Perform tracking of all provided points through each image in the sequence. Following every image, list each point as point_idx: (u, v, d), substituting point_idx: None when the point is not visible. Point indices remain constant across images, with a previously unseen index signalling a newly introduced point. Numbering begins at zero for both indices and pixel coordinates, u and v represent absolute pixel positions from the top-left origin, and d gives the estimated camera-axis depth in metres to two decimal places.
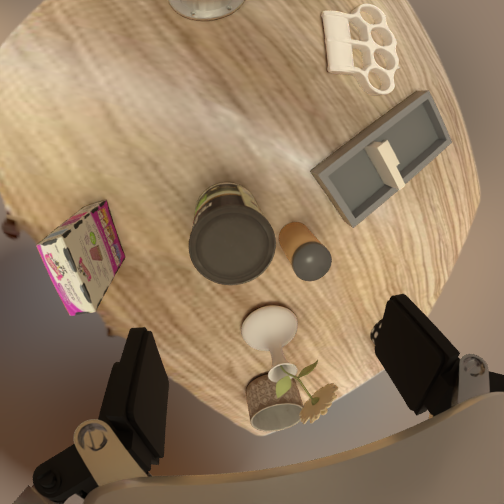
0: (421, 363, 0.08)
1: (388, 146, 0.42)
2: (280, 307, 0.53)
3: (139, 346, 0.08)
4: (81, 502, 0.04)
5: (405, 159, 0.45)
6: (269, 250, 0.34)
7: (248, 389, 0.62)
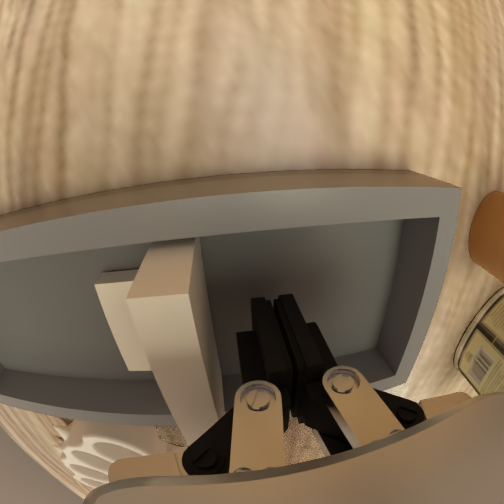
0: None
1: (130, 355, 0.12)
2: None
3: (268, 312, 0.10)
4: None
5: (66, 258, 0.11)
6: None
7: None
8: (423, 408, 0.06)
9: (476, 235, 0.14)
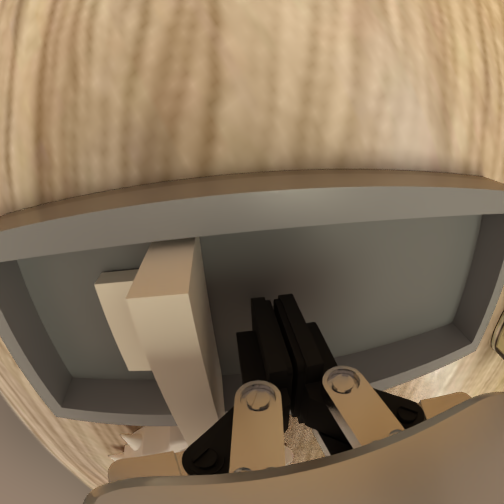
0: None
1: (130, 355, 0.12)
2: None
3: (268, 312, 0.10)
4: None
5: (216, 241, 0.11)
6: None
7: None
8: (423, 408, 0.06)
9: None
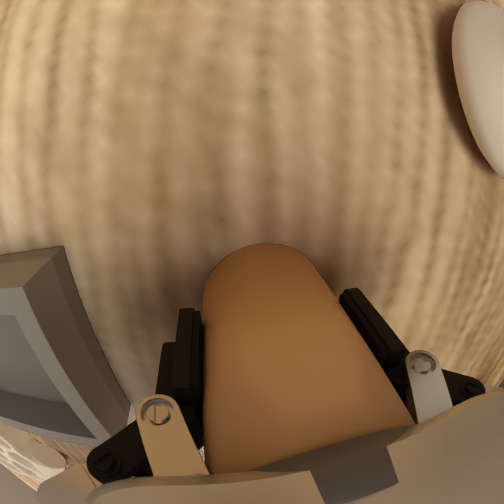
0: None
1: None
2: (476, 122, 0.09)
3: (192, 324, 0.09)
4: None
5: None
6: None
7: None
8: (486, 392, 0.06)
9: None
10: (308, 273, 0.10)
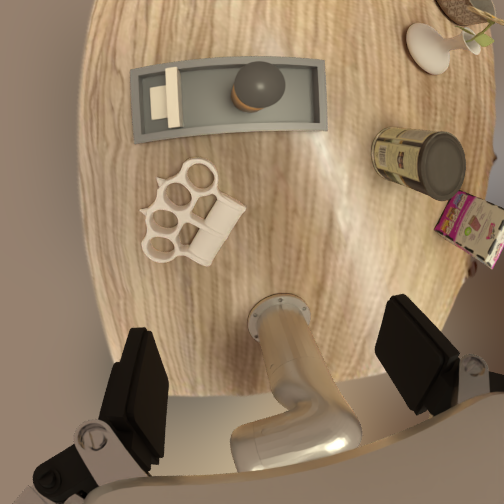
0: (421, 363, 0.08)
1: (154, 112, 0.35)
2: (413, 55, 0.35)
3: (139, 346, 0.08)
4: (81, 502, 0.04)
5: (210, 76, 0.35)
6: (432, 142, 0.30)
7: None
8: None
9: (231, 95, 0.36)
10: None
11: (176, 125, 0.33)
